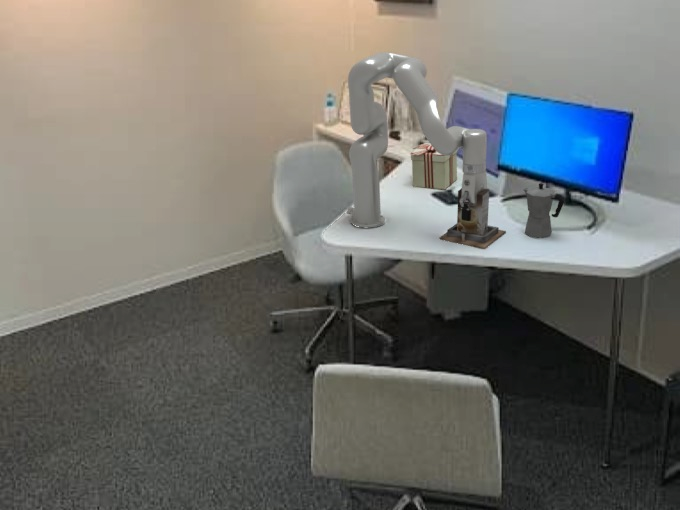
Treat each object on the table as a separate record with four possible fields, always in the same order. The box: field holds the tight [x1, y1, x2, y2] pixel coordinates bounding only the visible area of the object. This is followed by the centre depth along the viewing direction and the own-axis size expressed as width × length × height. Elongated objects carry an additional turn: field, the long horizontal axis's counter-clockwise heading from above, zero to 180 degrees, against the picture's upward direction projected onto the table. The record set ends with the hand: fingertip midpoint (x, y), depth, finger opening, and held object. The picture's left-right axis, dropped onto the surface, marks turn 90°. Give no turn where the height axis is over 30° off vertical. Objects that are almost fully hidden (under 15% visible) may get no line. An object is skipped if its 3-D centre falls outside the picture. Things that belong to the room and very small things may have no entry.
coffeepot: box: [523, 182, 565, 239], centre depth 243 cm, size 15×9×18 cm, turn 43°
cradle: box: [438, 223, 507, 250], centre depth 247 cm, size 17×16×3 cm
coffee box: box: [456, 187, 490, 236], centre depth 244 cm, size 9×6×16 cm
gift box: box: [410, 142, 459, 190], centre depth 297 cm, size 17×18×17 cm
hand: (472, 215), depth 245 cm, fingers open, 9 cm apart
